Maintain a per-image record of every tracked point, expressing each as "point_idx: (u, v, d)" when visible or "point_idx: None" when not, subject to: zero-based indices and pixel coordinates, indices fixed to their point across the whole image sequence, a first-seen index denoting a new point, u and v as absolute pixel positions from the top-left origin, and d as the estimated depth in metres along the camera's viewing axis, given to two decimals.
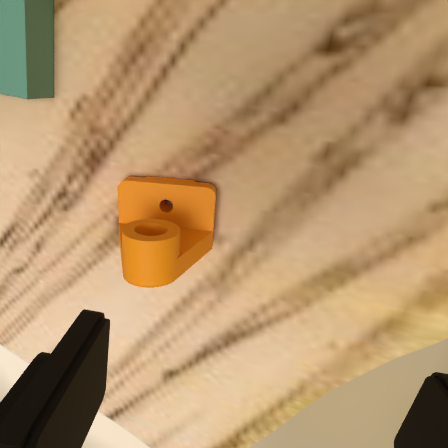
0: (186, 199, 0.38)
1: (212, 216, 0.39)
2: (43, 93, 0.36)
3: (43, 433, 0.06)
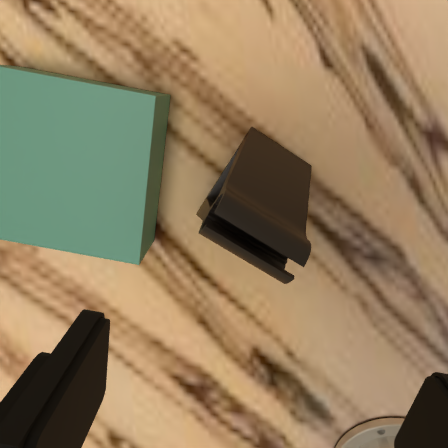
0: None
1: None
2: None
3: (43, 433, 0.06)
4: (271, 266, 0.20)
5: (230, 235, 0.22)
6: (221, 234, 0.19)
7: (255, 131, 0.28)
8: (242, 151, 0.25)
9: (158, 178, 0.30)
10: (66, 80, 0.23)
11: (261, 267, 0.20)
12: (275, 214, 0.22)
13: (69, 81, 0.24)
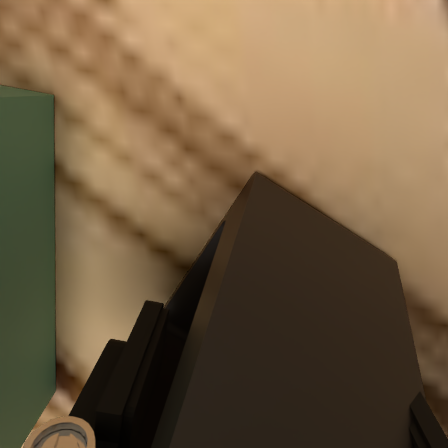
0: None
1: None
2: None
3: (137, 405, 0.07)
4: None
5: None
6: None
7: (265, 185, 0.11)
8: (230, 268, 0.08)
9: (39, 288, 0.13)
10: None
11: None
12: None
13: None
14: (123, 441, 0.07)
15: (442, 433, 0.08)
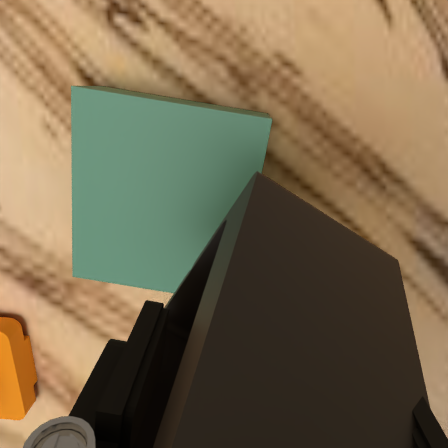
0: (5, 395, 0.33)
1: None
2: None
3: (137, 405, 0.07)
4: None
5: None
6: None
7: (266, 184, 0.11)
8: (232, 267, 0.08)
9: None
10: (170, 103, 0.21)
11: None
12: None
13: (173, 104, 0.21)
14: (123, 441, 0.07)
15: (442, 433, 0.08)
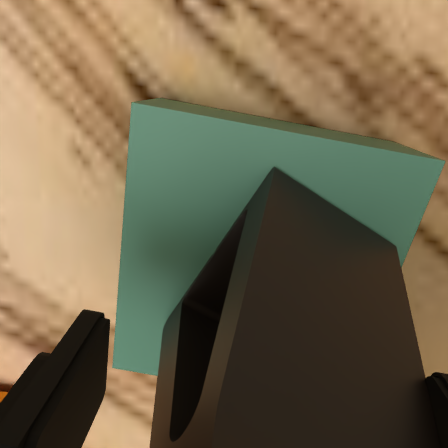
0: None
1: None
2: None
3: (43, 433, 0.06)
4: None
5: None
6: None
7: (283, 178, 0.13)
8: (259, 244, 0.10)
9: None
10: (287, 133, 0.13)
11: None
12: None
13: (292, 135, 0.13)
14: None
15: None
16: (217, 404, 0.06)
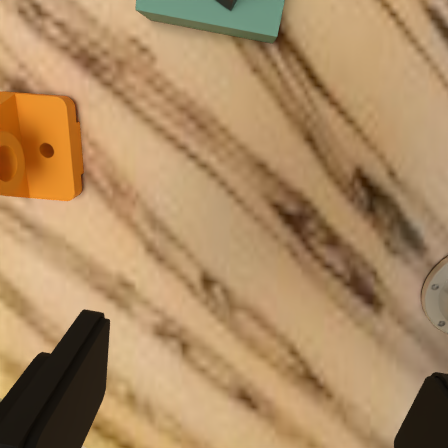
0: (58, 172, 0.37)
1: (45, 197, 0.38)
2: (149, 17, 0.32)
3: (43, 433, 0.06)
4: None
5: None
6: None
7: None
8: None
9: None
10: None
11: None
12: None
13: None
14: None
15: None
16: None
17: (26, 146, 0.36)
